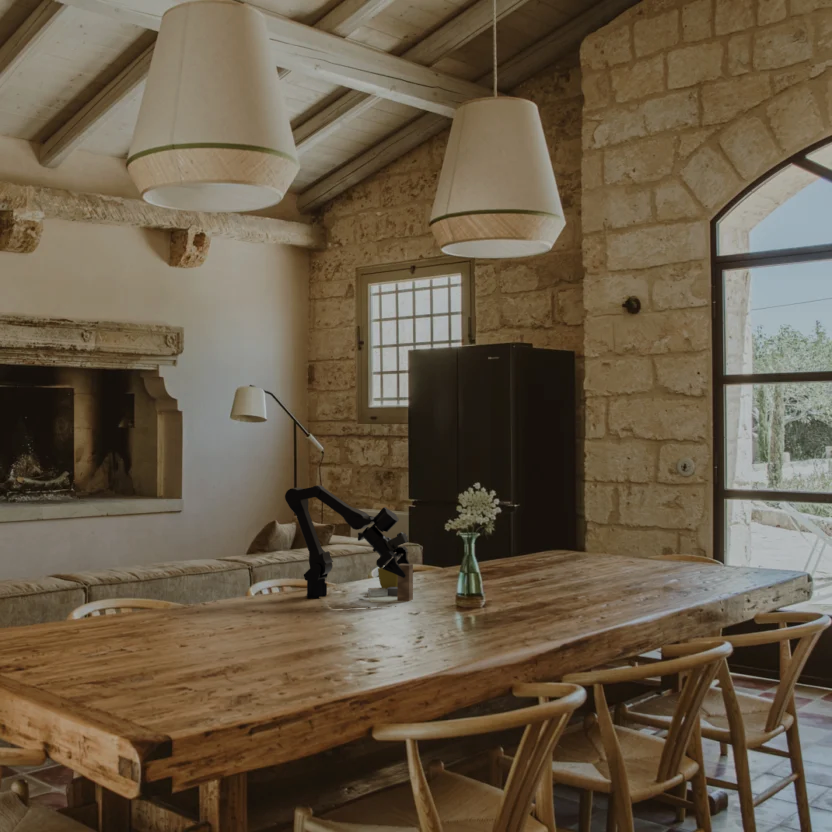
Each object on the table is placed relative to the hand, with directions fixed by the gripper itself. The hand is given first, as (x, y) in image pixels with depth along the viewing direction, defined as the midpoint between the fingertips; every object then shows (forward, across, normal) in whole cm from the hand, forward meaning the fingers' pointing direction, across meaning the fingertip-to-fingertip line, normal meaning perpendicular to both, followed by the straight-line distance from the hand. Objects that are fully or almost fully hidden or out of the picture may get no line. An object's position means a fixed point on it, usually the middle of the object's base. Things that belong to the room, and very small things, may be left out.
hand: (408, 574), depth 341 cm
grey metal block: (-3, +5, +15) cm, 16 cm away
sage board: (+1, +3, +12) cm, 12 cm away
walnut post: (+5, 0, +7) cm, 9 cm away
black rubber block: (+1, +9, +12) cm, 14 cm away
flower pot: (-1, +17, +14) cm, 22 cm away
